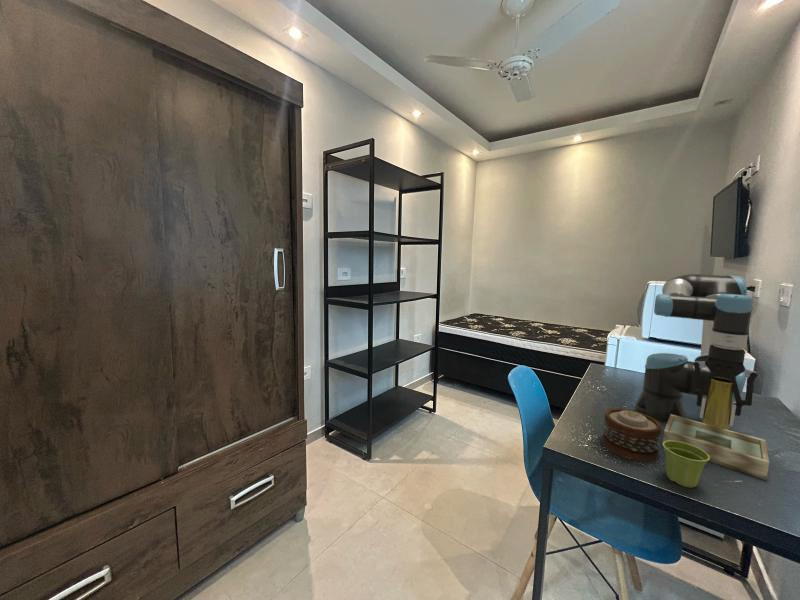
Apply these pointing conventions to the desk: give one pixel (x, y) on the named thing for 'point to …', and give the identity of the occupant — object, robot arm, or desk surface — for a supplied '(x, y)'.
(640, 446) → the spiked roller
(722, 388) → the vase
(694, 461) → the plant pot
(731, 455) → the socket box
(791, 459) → the desk surface
